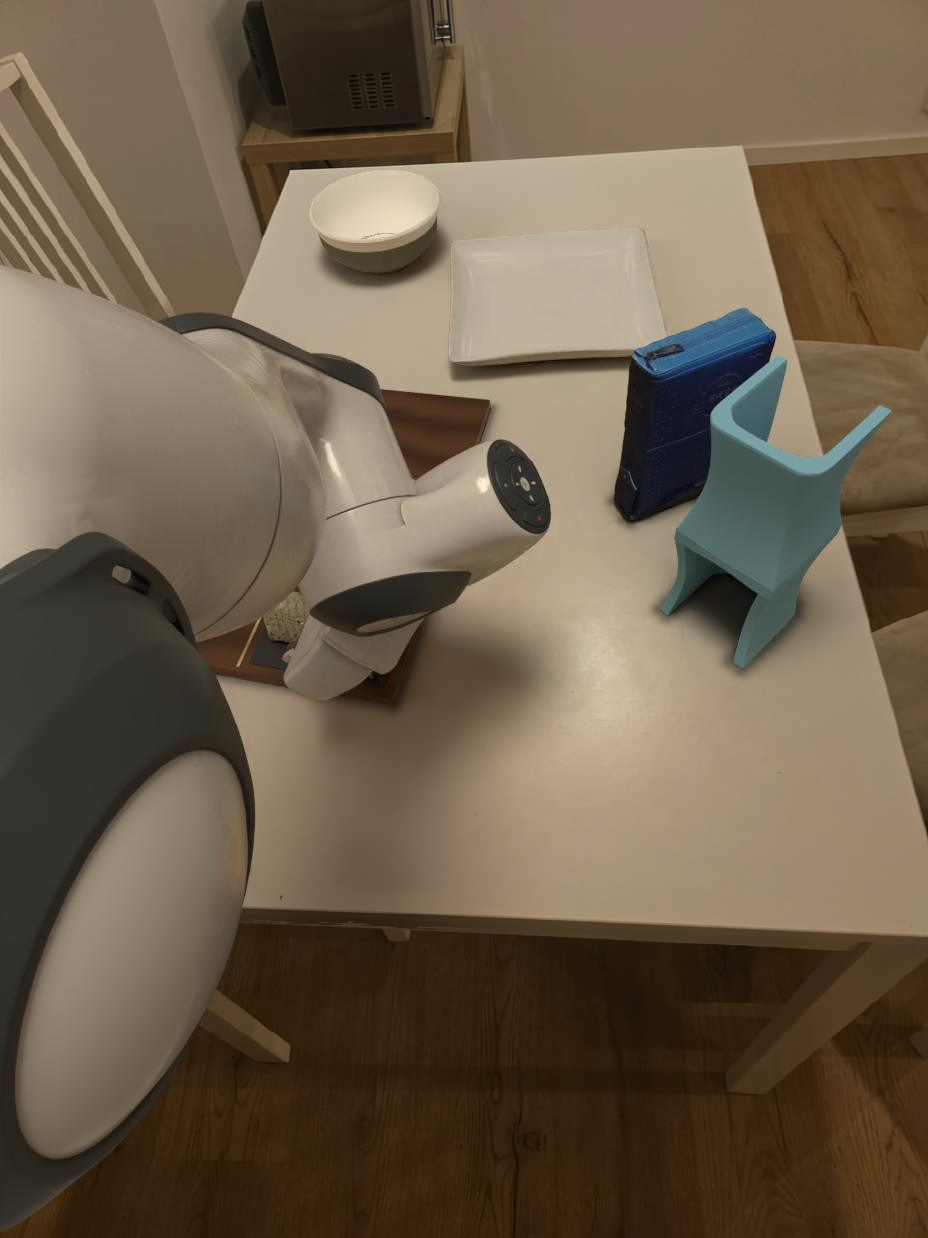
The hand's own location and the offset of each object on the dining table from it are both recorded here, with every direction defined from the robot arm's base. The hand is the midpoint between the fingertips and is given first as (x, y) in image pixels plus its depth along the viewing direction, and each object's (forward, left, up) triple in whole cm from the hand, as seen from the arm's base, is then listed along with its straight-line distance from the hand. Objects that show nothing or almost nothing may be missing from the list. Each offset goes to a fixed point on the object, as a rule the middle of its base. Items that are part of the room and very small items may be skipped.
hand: (309, 614), depth 75 cm
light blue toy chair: (+12, -39, -7) cm, 41 cm away
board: (+16, +4, -7) cm, 18 cm away
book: (+27, -32, -7) cm, 42 cm away
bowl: (+67, +14, -7) cm, 69 cm away
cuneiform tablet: (0, -1, -5) cm, 5 cm away
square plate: (+57, -13, -7) cm, 59 cm away
